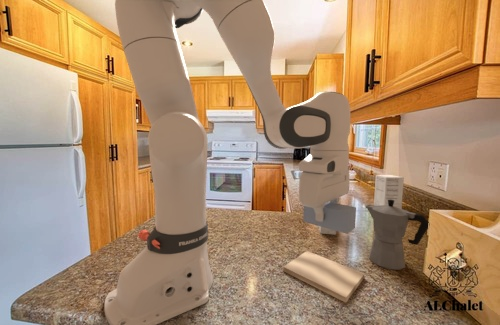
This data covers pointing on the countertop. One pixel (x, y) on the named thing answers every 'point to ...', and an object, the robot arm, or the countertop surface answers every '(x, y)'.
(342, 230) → the slate block
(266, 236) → the countertop surface
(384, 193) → the supplement box
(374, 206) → the coffeepot
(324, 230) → the small box
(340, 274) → the beech board
